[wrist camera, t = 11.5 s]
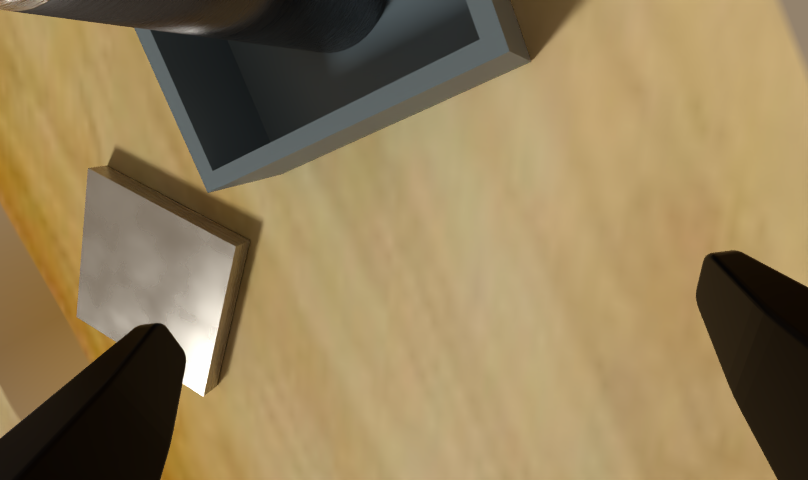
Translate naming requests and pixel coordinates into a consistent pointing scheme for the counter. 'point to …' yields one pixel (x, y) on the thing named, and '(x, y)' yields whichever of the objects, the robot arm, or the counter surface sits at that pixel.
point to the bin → (325, 84)
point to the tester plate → (158, 271)
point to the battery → (229, 18)
